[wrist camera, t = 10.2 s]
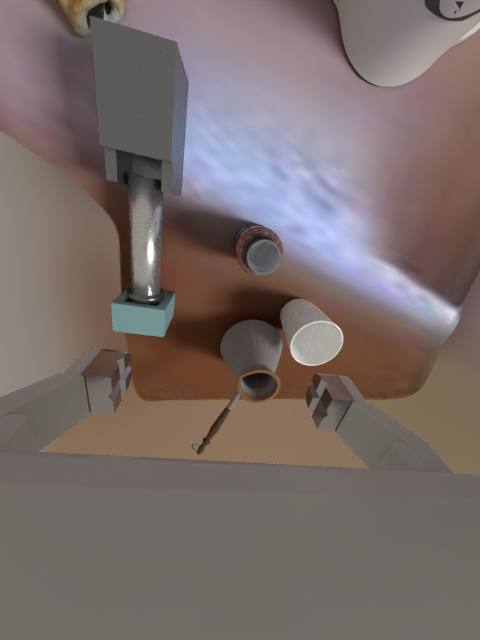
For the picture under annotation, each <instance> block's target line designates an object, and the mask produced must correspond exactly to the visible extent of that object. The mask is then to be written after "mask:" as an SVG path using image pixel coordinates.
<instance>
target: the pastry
mask: <svg viewBox="0 0 480 640" xmlns="http://www.w3.org/2000/svg"><path fill="white" fill-rule="evenodd" d="M56 1H57V3H58V4H59V6H60V7H61V9H62V10H63V12H64V13H65V14H66V16H67V17H68V19H69V20H70V22H71V24H72V26H73V29H74V31H75V32H76V33H77V34H78V35H79V36H81V37H84V38H85V37H90V36H91V25H90V16H93V17H96V18H100V19H103V20H106V21H110V22H113V23H116V22H118V21H119V20H121V19H122V18H123V15H124V11H125V0H56Z"/></svg>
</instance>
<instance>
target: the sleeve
mask: <svg viewBox="0 0 480 640" xmlns="http://www.w3.org/2000/svg"><path fill="white" fill-rule="evenodd" d="M90 25H91V39H92V52H93V66H94V79H95V93H96V106H97V120H98V133H99V145H100V146H102V147H104V154H105V169H106V180H109V181H114V182H118V183H123V184H128V173H132V174H137V175H141V176H146V177H150V178H154V179H158V180H161V192H165V193H170V194H175V195H180V196H181V191H182V176H183V160H184V144H185V128H186V113H187V97H188V79H187V76H186V72H185V69H184V66H183V62H182V59H181V56H180V52H179V49H178V46H177V42H175V41H172V40H169V39H165V38H162V37H159V36H155V35H152V34H149V33H146V32H142V31H139V30H136V29H133V28H129V27H126V26H123V25H119V24H116V23H113V22H110V21H106V20H103V19H100V18H96V17H93V16H90Z"/></svg>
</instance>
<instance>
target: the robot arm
mask: <svg viewBox="0 0 480 640" xmlns="http://www.w3.org/2000/svg"><path fill="white" fill-rule="evenodd" d="M333 1H334V3H335V5H336V6H337V9H338V13H339V19H340V27H341V34H342V39H343V43H344V47H345V50H346V53H347V56H348V58H349V60H350V62H351V64H352V65H353V67H354V68H355V70H356V71H357V72H358V73H359V74H360V75H361V76H362V77H363V78H364V79H365V80H367V81H368V82H370V83H372V84H374V85H377V86H382V87H394V86H399V85H402V84H405V83H407V82H410V81H412V80H413V79H415V78H417V77H418V76H420V75H421V74H422V73H424V72H425V71H426V70H427V69H428V68H429V67H430V66H431V65H432V64H433V63H434V62H435V61H436V60H437V59H438V58H439V57H440V56H441V55H442V54H443V53H445V52H446V51H447V50H448V49H449V48H450V47H452V46H454V45H456V44H458V43H460V42H462V41H464V40H466V39H467V38H469V37H470V36H471V35H472V34H473V33H475V32H476V31H477V30H478V29H479V28H480V0H333ZM130 361H131V354H130V353H129V352H123V351H115V350H108V349H99V348H88V349H86V350H85V352H83V354H82V355H81V356H80V357H79V358H78V359H77V360H76V361H75V362H74V363H73V364H72V365H71V366H70V367H69V368H68V369H67V370H66V371H65V372H64V373H63V374H62V373H58V374H56V375H53V376H51V377H49V378H46V379H44V380H41V381H39V382H37V383H34V384H32V385H29V386H27V387H24V388H22V389H19V390H17V391H15V392H12V393H10V394H8V395H5V396H3V397H0V640H480V475H477V474H458V473H453V471H452V470H451V469H450V468H449V467H448V466H447V464H446V463H445V462H444V461H443V460H442V458H441V457H440V456H439V455H438V454H437V453H436V451H435V450H434V449H433V448H432V447H431V446H430V445H429V443H427V442H426V441H424V440H423V439H422V438H420V437H419V436H417V435H416V434H414V433H413V432H411V431H410V430H408V429H407V428H406V427H404V426H403V425H401V424H400V423H398V422H397V421H395V420H394V419H392V418H391V417H390V416H388V415H387V414H385V413H384V412H382V411H381V410H379V409H378V408H377V407H375V406H374V405H372V404H371V403H367V402H366V401H365V399H364V398H363V396H362V395H361V394H360V392H359V391H358V390H357V388H356V387H355V385H354V384H353V383H352V381H351V380H350V378H348V377H347V376H338V375H336V376H334V375H325V374H315V375H314V376H313V378H312V383H313V384H312V385H311V386H309V387H308V389H307V392H306V403H307V406H308V408H309V409H310V410H311V411H312V412H313V415H312V418H313V420H314V423H315V425H316V428H317V429H318V430H328V431H336V433H337V435H338V436H339V437H340V438H341V439H342V440H343V441H344V442H345V443H346V444H347V445H348V446H349V447H350V448H351V449H352V451H353V452H354V453H355V454H356V455H357V456H358V457H359V458H360V459H361V460H362V461H363V462H364V463H365V464H366V465H367V466H368V467H369V469H361V468H342V467H323V466H304V465H284V464H265V463H264V464H263V463H245V462H226V461H207V460H188V459H187V460H186V459H168V458H149V457H129V456H110V455H91V454H71V453H70V454H69V453H51V452H39V451H40V450H42V449H43V448H44V447H46V446H47V445H48V444H50V443H51V442H53V441H54V440H55V439H57V438H58V437H59V436H61V435H62V434H63V433H65V432H66V431H67V430H68V429H70V428H72V427H73V426H74V425H76V424H77V423H78V422H80V421H81V420H82V419H84V418H85V417H87V416H88V415H89V414H90V413H107V414H114V413H115V411H116V409H117V408H118V406H119V404H120V402H121V394H123V393H125V392H126V391H127V389H128V387H129V384H130V380H131V368H130V367H129V366H128V365H129V363H130Z"/></svg>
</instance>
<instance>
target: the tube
mask: <svg viewBox="0 0 480 640" xmlns="http://www.w3.org/2000/svg"><path fill="white" fill-rule="evenodd" d="M128 196H129V230H130V264H131V287H129V288H128V289H127V298H128V299H129V300H130V301H132V303H138V304H145V305H152V306H159V304H160V302H161V301H162V300H163V299H164V290H163V289H161V288H160V277H161V245H162V213H163V192H161V180H158V179H154V178H150V177H146V176H141V175H137V174H132V173H128Z"/></svg>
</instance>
